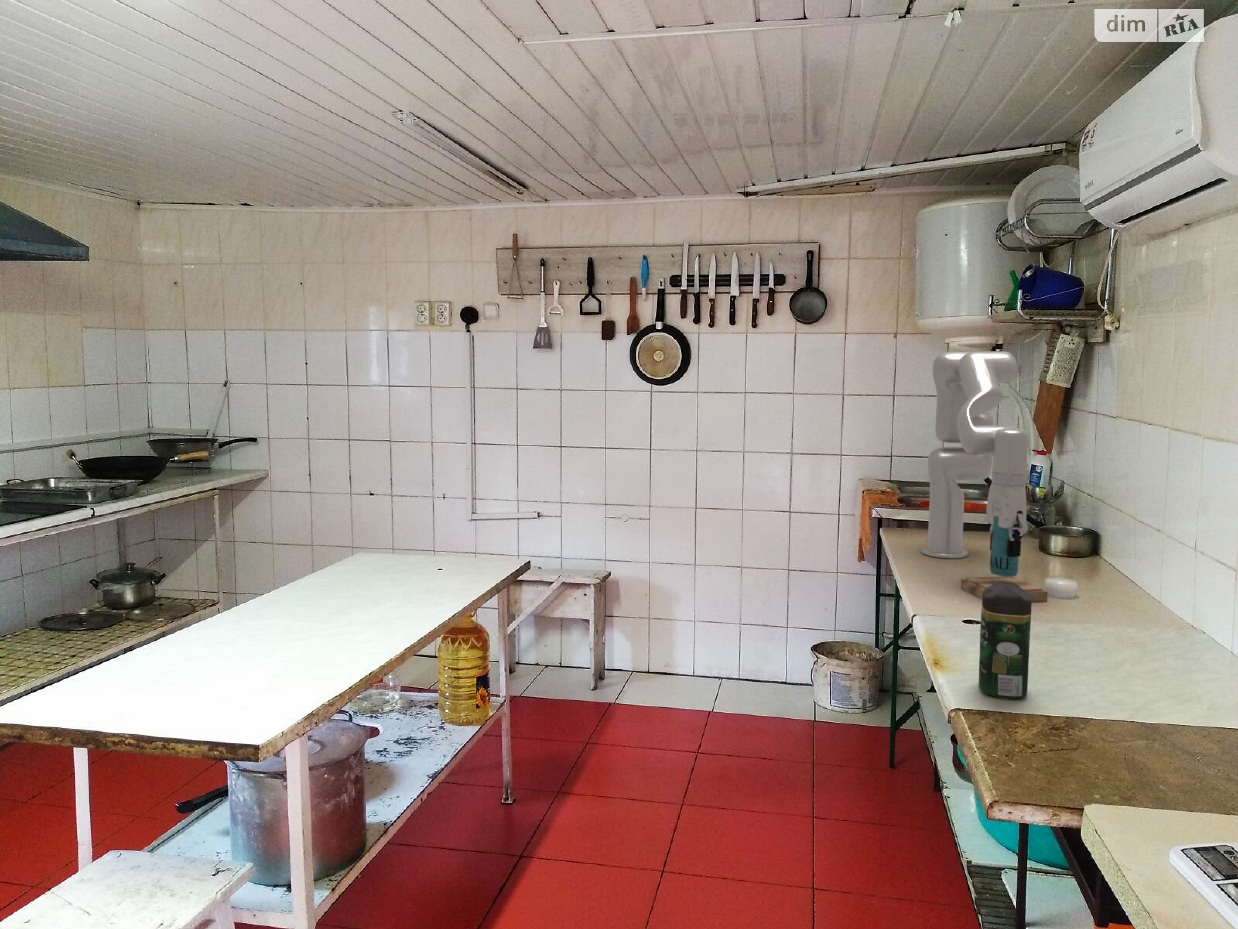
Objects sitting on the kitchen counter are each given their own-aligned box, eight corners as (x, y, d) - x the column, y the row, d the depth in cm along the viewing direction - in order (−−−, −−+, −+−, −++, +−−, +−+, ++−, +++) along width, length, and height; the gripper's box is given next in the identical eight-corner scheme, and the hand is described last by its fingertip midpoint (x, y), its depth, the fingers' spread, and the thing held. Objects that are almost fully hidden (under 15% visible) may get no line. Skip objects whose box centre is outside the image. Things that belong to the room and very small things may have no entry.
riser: (960, 588, 222) (961, 577, 221) (1012, 586, 224) (1012, 575, 223) (992, 604, 208) (993, 591, 208) (1047, 601, 210) (1047, 589, 210)
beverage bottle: (1012, 576, 219) (1017, 496, 216) (1022, 583, 212) (1026, 501, 209) (985, 575, 219) (989, 496, 217) (993, 582, 213) (998, 500, 210)
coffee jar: (976, 678, 160) (981, 578, 158) (1024, 683, 158) (1030, 582, 155) (978, 697, 151) (984, 591, 149) (1029, 703, 149) (1035, 596, 146)
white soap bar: (1039, 591, 219) (1040, 577, 219) (1067, 591, 220) (1068, 577, 219) (1053, 599, 212) (1054, 584, 212) (1082, 599, 213) (1083, 584, 212)
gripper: (974, 475, 220) (971, 546, 223) (1015, 485, 203) (1011, 562, 206) (1002, 474, 222) (998, 545, 224) (1045, 485, 205) (1041, 560, 207)
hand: (1004, 552), depth 215 cm, fingers closed on beverage bottle, 6 cm apart
